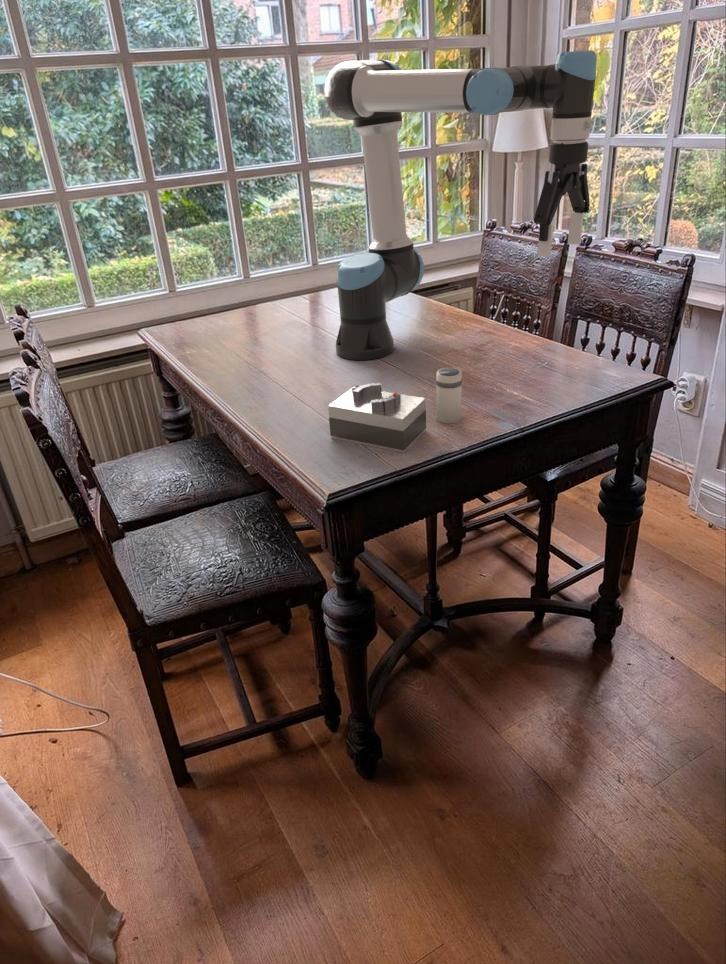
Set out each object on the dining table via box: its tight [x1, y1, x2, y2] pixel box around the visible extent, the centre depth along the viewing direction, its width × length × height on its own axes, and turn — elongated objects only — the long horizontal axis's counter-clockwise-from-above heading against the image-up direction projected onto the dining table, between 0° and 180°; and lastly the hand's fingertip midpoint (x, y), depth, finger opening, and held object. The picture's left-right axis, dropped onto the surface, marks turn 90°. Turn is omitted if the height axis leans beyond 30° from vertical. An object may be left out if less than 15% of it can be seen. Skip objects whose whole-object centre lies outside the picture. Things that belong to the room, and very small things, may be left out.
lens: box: [435, 367, 463, 425], centre depth 137 cm, size 5×5×10 cm
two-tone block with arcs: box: [327, 382, 427, 454], centre depth 133 cm, size 16×10×10 cm, turn 61°
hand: (559, 250), depth 148 cm, fingers open, 13 cm apart
